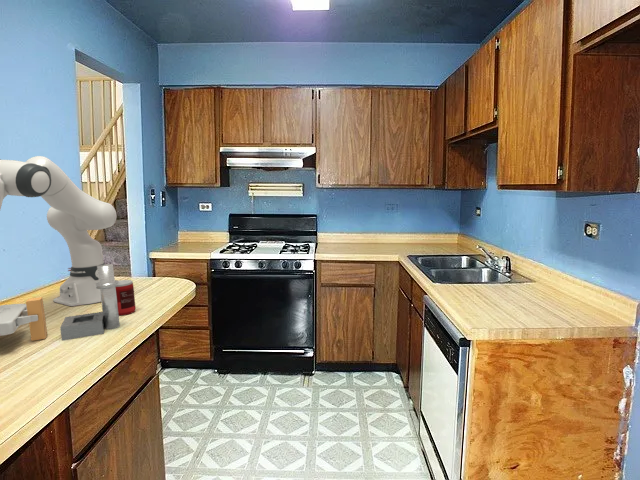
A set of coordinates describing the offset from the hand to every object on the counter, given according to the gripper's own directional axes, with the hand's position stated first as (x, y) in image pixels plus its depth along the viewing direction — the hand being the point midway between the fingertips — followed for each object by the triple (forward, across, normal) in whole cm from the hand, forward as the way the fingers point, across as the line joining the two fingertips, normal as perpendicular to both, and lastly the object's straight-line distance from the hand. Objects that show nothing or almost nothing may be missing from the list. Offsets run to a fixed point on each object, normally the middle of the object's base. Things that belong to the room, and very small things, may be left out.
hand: (40, 314), depth 126 cm
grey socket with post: (+14, 0, +7) cm, 16 cm away
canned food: (+22, +15, +8) cm, 28 cm away
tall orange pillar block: (-1, 0, +7) cm, 7 cm away
